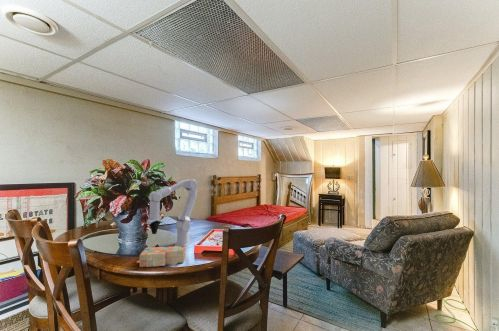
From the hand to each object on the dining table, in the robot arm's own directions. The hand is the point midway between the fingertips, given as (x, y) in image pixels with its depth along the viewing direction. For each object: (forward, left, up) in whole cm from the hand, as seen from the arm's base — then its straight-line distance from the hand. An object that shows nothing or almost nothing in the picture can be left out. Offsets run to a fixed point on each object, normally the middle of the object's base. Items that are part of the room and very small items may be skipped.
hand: (154, 233), depth 143 cm
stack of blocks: (+11, +13, -7) cm, 19 cm away
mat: (+15, +12, -10) cm, 22 cm away
